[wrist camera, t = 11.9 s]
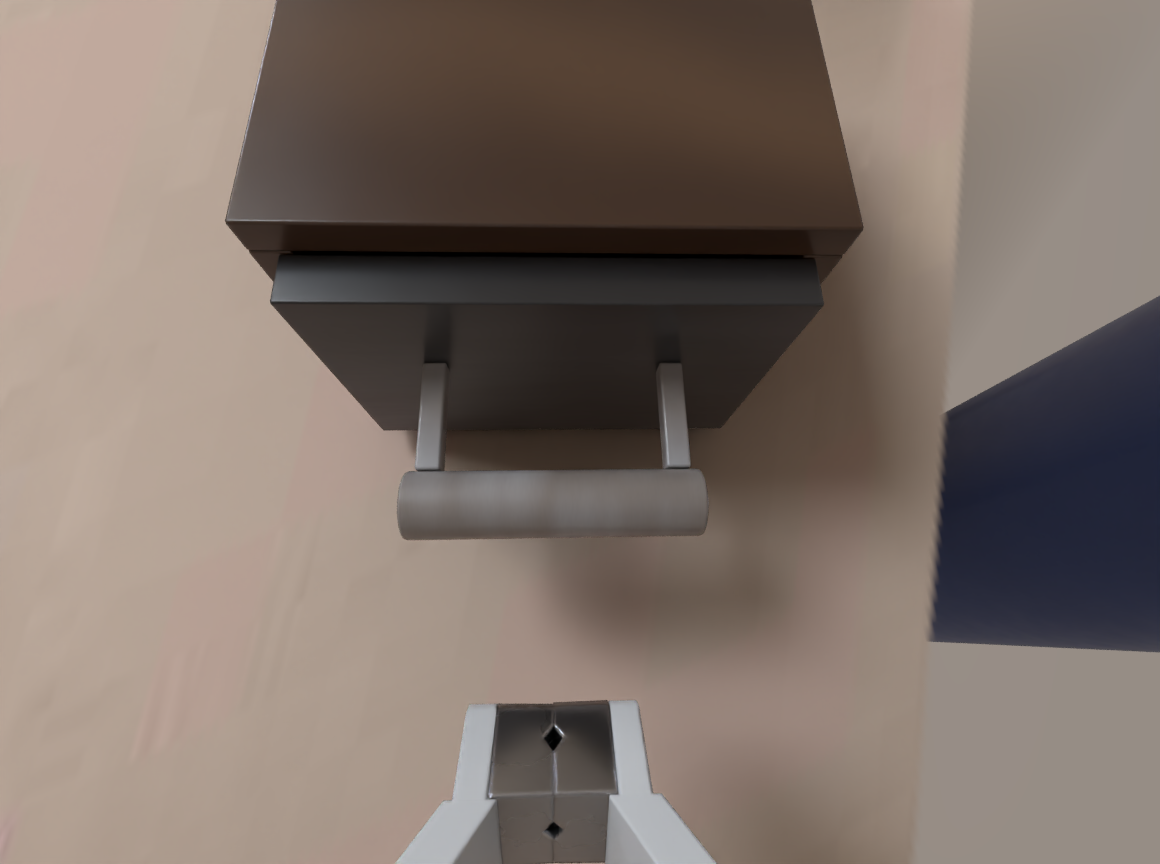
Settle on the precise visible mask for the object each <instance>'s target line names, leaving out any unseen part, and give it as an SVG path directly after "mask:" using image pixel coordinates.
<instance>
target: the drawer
mask: <svg viewBox="0 0 1160 864" xmlns="http://www.w3.org/2000/svg"><path fill="white" fill-rule="evenodd" d="M354 252H355V254H356V255H279V257H278V262H277V267H276V273H275V278H274V283H273V289H272V294H271V299H270V303H271V305H272V306H273V307H274V308H275V309H276V310H277V311H278V312H279V314H280V315H281V316H282V317H283V318H284V319H285V320H286V321H287V322H288V324H289V325H290V326H291V327H292V328H293V329H294V330H295V331H296V333H297V334H298V335H299V336H300V337H301V338H302V339H303V340H304V342H305V343H306V344H307V345H308V346H309V347H310V348H311V349H312V351H313V352H314V353H315V354H316V355H317V356H318V357H319V358H320V360H321V361H322V362H323V363H324V364H325V365H326V366H327V367H328V369H329V370H330V371H331V372H332V373H333V374H334V375H335V376H336V378H337V379H338V380H339V381H340V382H341V383H342V384H343V385H344V387H345V388H346V389H347V390H348V391H349V392H350V393H351V394H352V396H353V397H354V398H355V399H356V400H357V401H358V402H359V403H360V405H361V406H362V407H363V408H364V409H365V410H366V411H367V412H368V414H369V415H370V416H371V417H372V418H373V419H374V420H375V421H376V423H377V424H378V425H379V426H380V427H381V428H382V429H383V430H418V434H417V447H416V459H415V469H416V470H417V471H409V472H407V473H405V474H404V475H403V477H402V480H401V483H400V486H399V491H398V499H397V519H398V526H399V530H400V533H401V536H402V537H403V538H404V539H406V540H451V539H516V538H581V537H645V536H699V535H702V534H703V533H704V531H705V529H706V525H707V520H708V508H709V507H708V491H707V486H706V481H705V478H704V476H703V473H702V472H701V471H700V470H699V469H689V467H690V466H691V459H690V448H689V437H688V428H721V427H722V426H723V425H724V423H725V422H726V421H727V420H728V419H729V418H730V416H731V415H732V414H733V413H734V412H735V410H736V409H737V408H738V407H739V406H740V404H741V403H742V402H743V401H744V400H745V398H746V397H747V396H748V395H749V394H750V393H751V391H752V390H753V389H754V388H755V387H756V385H757V384H758V383H759V382H760V381H761V379H762V378H763V377H764V376H765V375H766V373H767V372H768V371H769V370H770V369H771V368H772V366H773V365H774V364H775V363H776V362H777V360H778V359H779V358H780V357H781V356H782V354H783V353H784V352H785V351H786V350H787V348H788V347H789V346H790V345H791V344H792V343H793V341H794V340H795V339H796V338H797V337H798V335H799V334H800V333H801V332H802V331H803V329H804V328H805V327H806V326H807V325H808V324H809V322H810V321H811V320H812V319H813V318H814V316H815V315H816V314H817V313H818V312H819V310H820V309H821V308H822V307H823V305H824V301H823V296H822V291H821V286H820V281H819V275H818V270H817V265H816V260H815V259H759V258H744V256H745V254H630V253H508V252H387V251H354ZM523 429H660V436H661V449H662V463H663V469H605V470H503V471H444V467H445V450H446V434H447V430H523Z"/></svg>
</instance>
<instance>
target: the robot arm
mask: <svg viewBox="0 0 1160 864" xmlns="http://www.w3.org/2000/svg"><path fill="white" fill-rule="evenodd" d="M601 862H605V864H717V863H716V862H715V860H714V859H713V858H712V856H711V855H710V854H709V853H708V851H707V850H706V849H705V848H704V846H703V845H702V844H701V843H700V841H699V840H698V839H697V837H696V836H695V835H694V834H693V832H692V831H691V830H690V829H689V827H688V826H687V825H686V824H685V822H684V821H683V820H682V818H681V817H680V816H679V815H678V813H677V812H676V811H675V810H674V808H673V807H672V806H671V805H670V803H669V802H668V801H667V799H666V798H665V797H664V796H663V794H662V793H653V790H652V784H651V778H650V771H649V765H648V759H647V753H646V746H645V740H644V734H643V728H642V721H641V715H640V709H639V705H638V703H637V701H636V700H621V701H609V702H608V701H607V700H599V701H575V702H553V704H469V707H468V710H467V712H466V717H465V723H464V730H463V736H462V742H461V748H460V754H459V761H458V767H457V773H456V779H455V785H454V792H453V798H452V800H447V801H443V802H442V803H441V804H440V806H439V807H438V808H437V810H436V811H435V812H434V813H433V815H432V816H431V817H430V819H429V820H428V821H427V823H426V824H425V825H424V827H423V828H422V829H421V830H420V832H419V833H418V834H417V836H416V837H415V838H414V840H413V841H412V842H411V843H410V845H409V846H408V847H407V849H406V850H405V851H404V853H403V854H402V855H401V856H400V858H399V859H398V860H397V862H396V863H395V864H545V863H601Z"/></svg>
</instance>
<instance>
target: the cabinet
mask: <svg viewBox="0 0 1160 864" xmlns="http://www.w3.org/2000/svg"><path fill="white" fill-rule="evenodd" d="M225 221H226V224H227V225H228V227H229V228H230V229H231V230H232V232H233V233H234V234H235V235H236V236H237V238H238V239H239V240H240V241H241V242H242V244H243V245H244V246H245V247H246V249H248V250H249V252H250V254H251V255H252V256H253V258H254V259H255V260H256V261H257V262H258V264H259V265H260V266H261V267H262V268H263V270H264V271H265V272H266V273H267V274H268V276H269V277H270V278H271V279H272V281H273V282H274V278H275V273H276V267H277V262H278V257H279V255H356V254H355V252H354V251H387V252H508V253H630V254H745V256H744V258H759V259H815V260H816V265H817V270H818V275H819V281H820V285H821V284H822V282H823V281H824V280H825V278H826V277H827V276H828V275H829V273H830V272H831V271H832V269H833V268H834V267H835V266H836V264H837V263H838V262H839V260H840V259H841V258H842V255H843V254H845V253H846V251H847V250H848V249H849V247H850V246H851V245H852V244H853V242H854V241H855V240H856V238H857V237H858V236H859V235H860V233H861V232H862V231H863V223H862V218H861V214H860V210H859V205H858V201H857V197H856V192H855V188H854V184H853V179H852V175H851V171H850V166H849V162H848V158H847V153H846V149H845V145H844V140H843V136H842V132H841V127H840V123H839V119H838V114H837V110H836V106H835V101H834V97H833V93H832V88H831V84H830V80H829V75H828V71H827V67H826V62H825V58H824V54H823V49H822V45H821V41H820V36H819V32H818V28H817V23H816V19H815V15H814V10H813V6H812V2H811V0H276V3H275V7H274V12H273V16H272V20H271V25H270V29H269V33H268V38H267V42H266V46H265V51H264V55H263V59H262V64H261V68H260V72H259V77H258V81H257V85H256V90H255V94H254V98H253V102H252V107H251V111H250V115H249V120H248V124H247V128H246V133H245V137H244V141H243V146H242V150H241V154H240V159H239V163H238V167H237V172H236V176H235V180H234V185H233V189H232V193H231V198H230V202H229V206H228V211H227V215H226V219H225Z"/></svg>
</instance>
